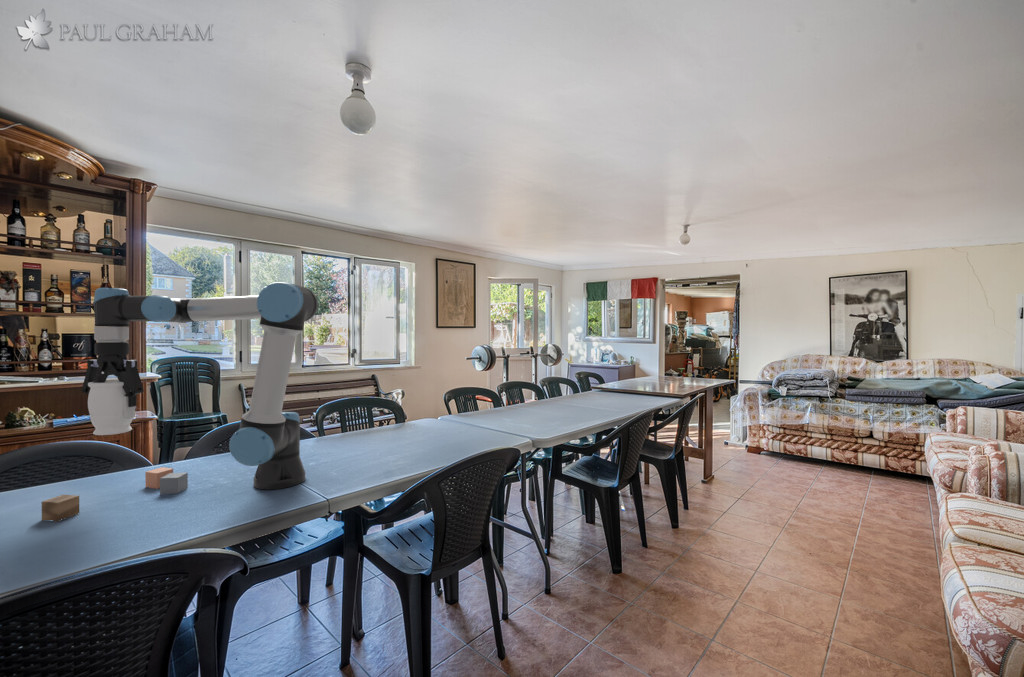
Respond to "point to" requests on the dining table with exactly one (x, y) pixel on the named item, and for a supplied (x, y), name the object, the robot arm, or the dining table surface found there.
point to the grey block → (173, 483)
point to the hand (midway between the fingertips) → (112, 417)
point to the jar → (108, 408)
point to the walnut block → (60, 507)
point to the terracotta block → (156, 476)
